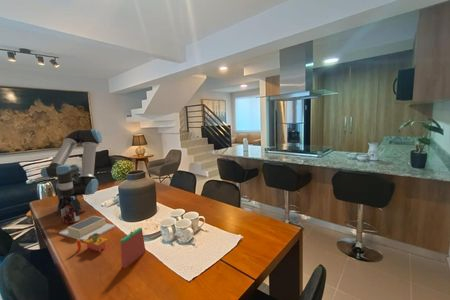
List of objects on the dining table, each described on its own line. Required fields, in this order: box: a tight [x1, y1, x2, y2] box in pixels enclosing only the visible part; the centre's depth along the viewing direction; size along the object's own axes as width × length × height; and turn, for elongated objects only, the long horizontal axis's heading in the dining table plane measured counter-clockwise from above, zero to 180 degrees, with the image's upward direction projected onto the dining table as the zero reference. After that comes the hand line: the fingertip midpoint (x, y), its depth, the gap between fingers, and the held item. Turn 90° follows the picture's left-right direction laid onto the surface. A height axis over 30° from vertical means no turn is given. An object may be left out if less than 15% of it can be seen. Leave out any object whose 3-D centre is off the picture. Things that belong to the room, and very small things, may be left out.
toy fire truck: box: [61, 206, 80, 225], centre depth 141 cm, size 7×12×10 cm, turn 56°
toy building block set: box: [76, 227, 146, 269], centre depth 105 cm, size 12×35×14 cm, turn 68°
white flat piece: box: [58, 215, 117, 242], centre depth 129 cm, size 18×26×5 cm
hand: (70, 219), depth 142 cm, fingers open, 13 cm apart
